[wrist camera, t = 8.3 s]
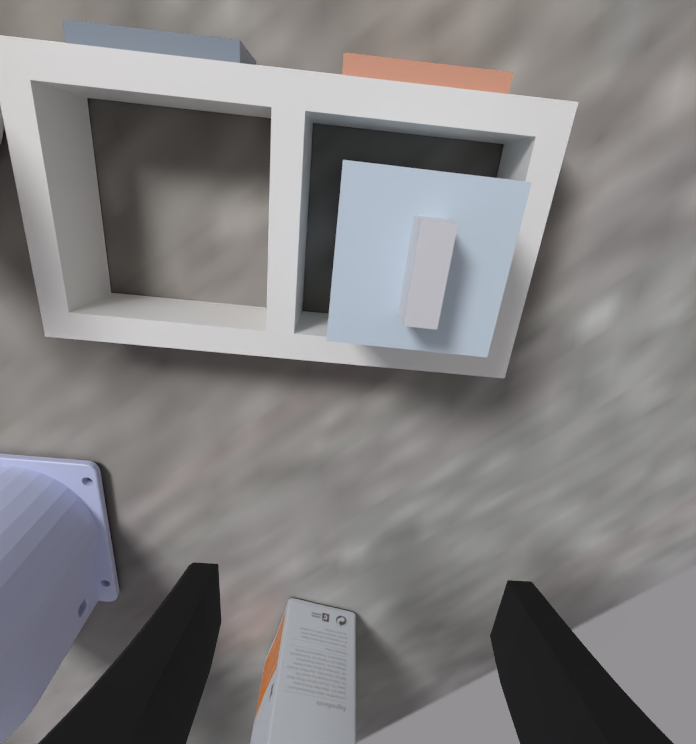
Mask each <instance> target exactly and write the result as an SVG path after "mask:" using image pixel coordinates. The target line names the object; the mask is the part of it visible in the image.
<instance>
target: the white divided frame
mask: <svg viewBox="0 0 696 744" xmlns="http://www.w3.org/2000/svg"><path fill="white" fill-rule="evenodd" d="M62 21H63V29H64V36H65V43H62V42H54V41H45V40H36V39H28V38H19V37H10V36H2V35H0V105H1V110H2V116H3V121H4V126H5V131H6V136H7V141H8V147H9V152H10V157H11V162H12V167H13V173H14V178H15V183H16V188H17V193H18V198H19V204H20V209H21V214H22V219H23V224H24V229H25V235H26V240H27V245H28V250H29V255H30V260H31V266H32V271H33V276H34V281H35V286H36V291H37V297H38V302H39V307H40V312H41V317H42V322H43V328H44V333H45V337H55V338H66V339H77V340H88V341H99V342H110V343H121V344H132V345H143V346H154V347H165V348H176V349H187V350H198V351H209V352H220V353H231V354H242V355H253V356H264V357H274V358H285V359H296V360H307V361H318V362H329V363H340V364H351V365H362V366H373V367H384V368H395V369H406V370H417V371H428V372H439V373H450V374H461V375H472V376H483V377H494V378H505V375H506V371H507V367H508V364H509V360H510V356H511V352H512V349H513V345H514V341H515V337H516V334H517V330H518V326H519V322H520V319H521V315H522V311H523V308H524V304H525V300H526V296H527V293H528V289H529V285H530V281H531V278H532V274H533V270H534V266H535V263H536V259H537V255H538V251H539V248H540V244H541V240H542V236H543V233H544V229H545V225H546V221H547V218H548V214H549V210H550V206H551V203H552V199H553V195H554V191H555V188H556V184H557V180H558V176H559V173H560V169H561V165H562V162H563V158H564V154H565V150H566V147H567V143H568V139H569V135H570V132H571V128H572V124H573V120H574V117H575V113H576V109H577V105H578V102H573V101H565V100H556V99H547V98H539V97H530V96H521V95H513V94H509V91H510V86H511V81H512V76H513V72H505V71H497V70H488V69H480V68H471V67H463V66H454V65H446V64H437V63H429V62H420V61H412V60H403V59H395V58H386V57H378V56H369V55H361V54H352V53H344V57H343V70H342V75H339V74H331V73H322V72H313V71H305V70H296V69H287V68H279V67H270V66H261V65H256V60H255V59H254V58H253V57H252V55H251V54H250V53H249V51H248V50H247V49H246V48H245V46H244V45H243V44H242V43H241V41H240V40H233V39H224V38H216V37H207V36H199V35H190V34H182V33H173V32H165V31H156V30H148V29H139V28H131V27H122V26H114V25H105V24H96V23H88V22H79V21H71V20H62ZM87 98H92V99H101V100H110V101H119V102H128V103H137V104H146V105H155V106H164V107H173V108H182V109H191V110H200V111H209V112H218V113H227V114H236V115H245V116H254V117H263V118H271V150H270V194H269V237H268V281H267V308H266V307H256V306H245V305H235V304H224V303H214V302H204V301H193V300H183V299H172V298H162V297H151V296H141V295H130V294H120V293H111V287H110V279H109V271H108V263H107V255H106V246H105V238H104V230H103V222H102V214H101V206H100V198H99V190H98V182H97V174H96V165H95V157H94V149H93V141H92V133H91V125H90V117H89V109H88V101H87ZM313 123H317V124H326V125H335V126H344V127H353V128H362V129H371V130H380V131H389V132H398V133H407V134H416V135H425V136H434V137H443V138H452V139H461V140H470V141H479V142H488V143H497V144H504V146H503V150H502V155H501V159H500V164H499V169H498V173H497V178H501V179H509V180H518V181H526V182H532V183H531V187H530V191H529V195H528V199H527V203H526V207H525V211H524V215H523V219H522V223H521V227H520V231H519V234H518V238H517V242H516V246H515V250H514V254H513V258H512V262H511V266H510V270H509V274H508V278H507V282H506V286H505V290H504V294H503V297H502V301H501V305H500V309H499V313H498V317H497V321H496V325H495V329H494V333H493V337H492V341H491V345H490V349H489V353H488V356H487V357H477V356H468V355H458V354H448V353H438V352H428V351H419V350H409V349H399V348H389V347H379V346H370V345H360V344H350V343H340V342H330V341H326V338H327V327H328V317H329V313H319V312H308V311H302V307H303V290H304V272H305V254H306V237H307V219H308V202H309V184H310V166H311V149H312V131H313Z"/></svg>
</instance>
